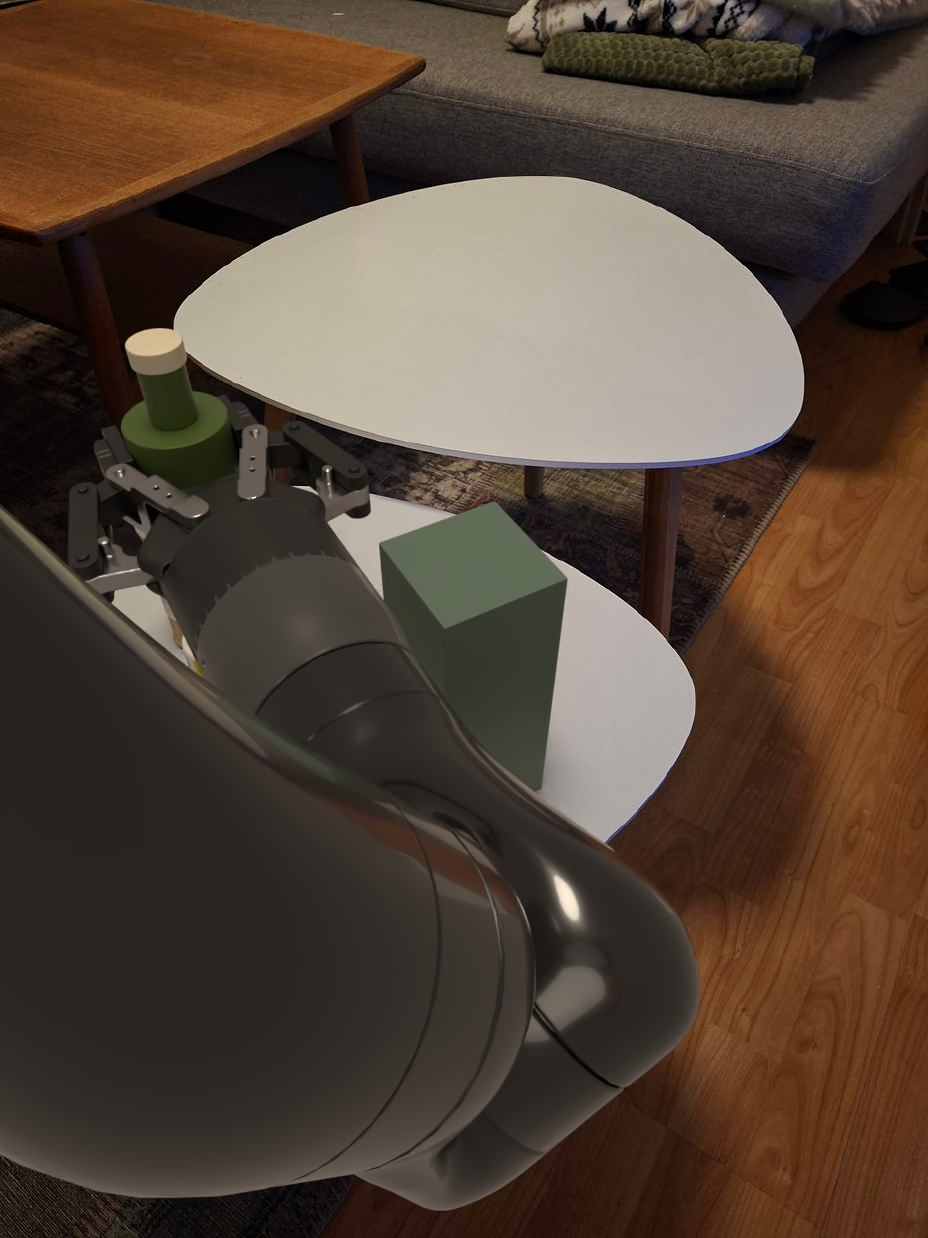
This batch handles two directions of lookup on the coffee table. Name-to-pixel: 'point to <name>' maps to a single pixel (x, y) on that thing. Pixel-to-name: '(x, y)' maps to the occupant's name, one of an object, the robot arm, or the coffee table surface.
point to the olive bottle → (175, 417)
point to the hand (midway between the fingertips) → (168, 427)
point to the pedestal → (483, 626)
